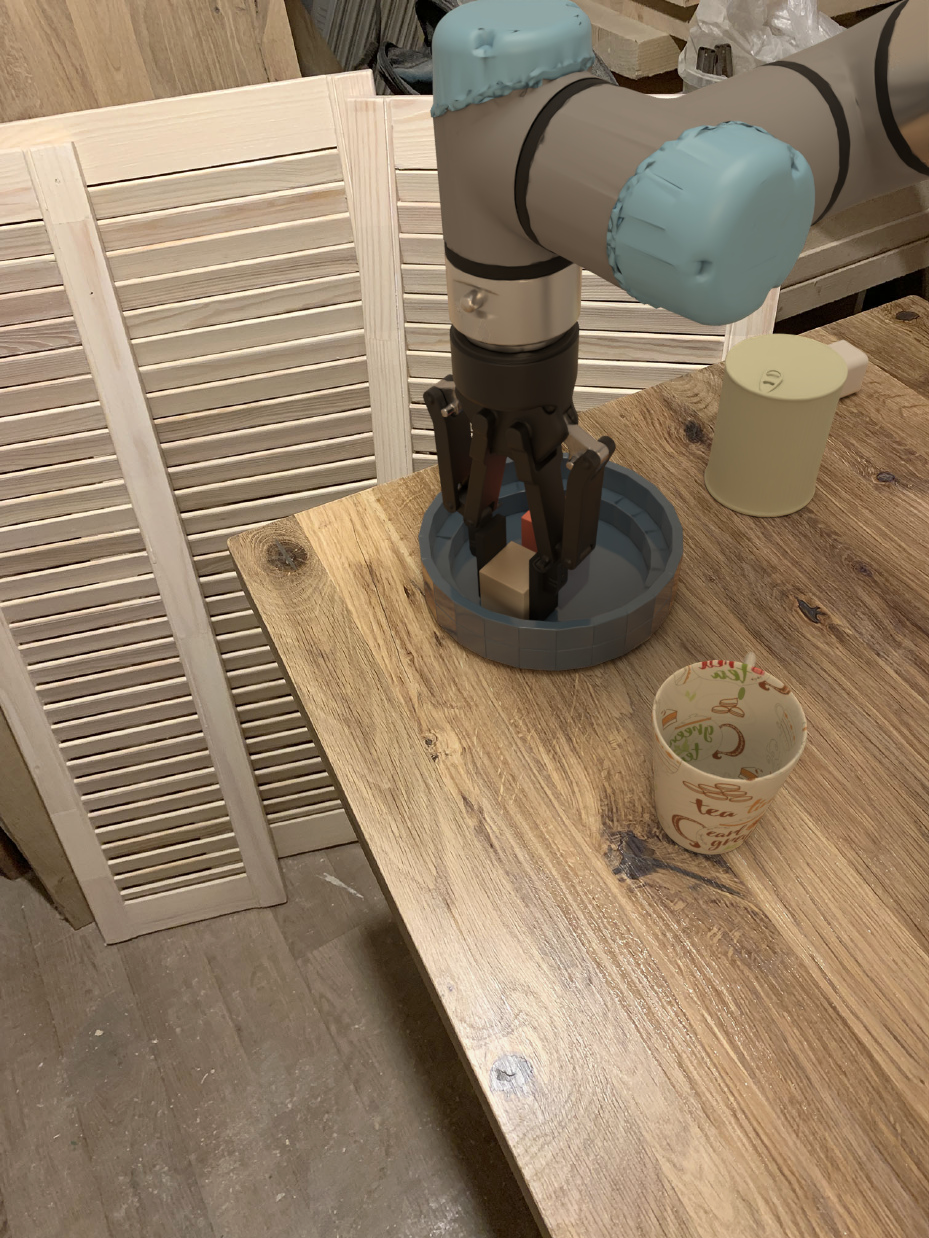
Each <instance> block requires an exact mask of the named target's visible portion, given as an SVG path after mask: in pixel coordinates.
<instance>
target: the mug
mask: <svg viewBox="0 0 929 1238" xmlns="http://www.w3.org/2000/svg"><path fill="white" fill-rule="evenodd" d="M756 662H757V655H756V654H755V652H753V651H749V652H747V653H746V655H745V656H744V658H743V662H740V661H735V660H734V661H733V660H727V659H726V660H724V659H714V660H713V659H712V660H704V661H699V662H694V663H691V664H689V665H686V666H683V667H682V668H680V669H678V670H676V671H675V672H672V674H670V675H669V676H668V677H667V678H666V679H665V680H664V682H663V683H662V684H661V685H660V687H659V688H658V689H657V691H656V694H655V696H654V698H653V702H652V707H651V716H650V724H651V742H652V743H651V744H652V745H651V746H652V762H653V763H652V764H653V778H654V800H655V801H654V802H655V811H656V816H657V819H658V822H659V824H660V826H661V828H662V829H663V831H664V832H665V833H666V835H667V836H668V837H669V838H670V839H671V840H672V841H673V842H675V843H676V844H677V845H679V846H680V847H682V848H684V849H686V850H687V851H691V852H694V853H697V854H702V855H721V854H726V853H729V852H732V851H733V850H736V849H737V848H739V847H740V846H742V845H743V844H744V843H745V842H746V841H747V840H748V838H749V837H750V836H751V835H752V833H753V831H754V830H755V829H756V827H757V825H758V824H759V822H761V820H762V818H763V816H764V815H765V813H766V811H767V810H768V809H769V807H770V806H771V804H772V802H773V801H774V799H775V798H776V796H777V795H778V793H779V792H780V790H781V789H782V787H783V786H784V784H785V783H786V781H787V779H788V778H789V777H790V775H791V774H792V772H793V770H794V769H795V768H796V765H797V764H798V763H799V761H800V759H801V757H802V755H803V752H804V750H805V747H806V744H807V741H808V722H807V717H806V714H805V711H804V708H803V707H802V704H801V703H800V701H799V700H798V698H797V697H796V695H795V694H794V693H793V692H792V691H791V689H790V688H789V687H788V686H787V685H785V684H784V683H783V682H782V681H781V680H780V679H778V678H777V677H775V676H774V675H772V674H771V673H769V672H767V671H765V670H763V669H761V668H759V667H757V666H756Z"/></svg>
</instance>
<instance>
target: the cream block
mask: <svg viewBox="0 0 929 1238" xmlns="http://www.w3.org/2000/svg"><path fill="white" fill-rule="evenodd" d="M535 554H536V553H535V552H533V551H531V550H529V549H527V548H525V547H523V546H521V545H519V544H517V543H515V542H513V541H511V542H510V543H509V544H508V545H506V546H505V547H504V548H503V549H502V550H501V551H500V552H499V553H498V554H497V555H496V556H495V557H494V558H493V559H492V560H490V561H489V562H488V563H487V564H486V565H485V566H484V567H483V568H482V569H481V570H480V571H479V576H480V593H481V606H482V607H484V608H485V609H487V610H489V611H492V612H496V613H500V614H503V615H507V616H511V617H514V618H518V619H522V620H529V559H530V558H532V557H533V556H534V555H535Z"/></svg>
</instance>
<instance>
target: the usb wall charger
mask: <svg viewBox="0 0 929 1238" xmlns="http://www.w3.org/2000/svg"><path fill="white" fill-rule="evenodd" d="M826 345H827V346H829V347H831V348H832V349H834V350H835V351H836V352H837V353H839V354H840V355H841V357H842V358H843V359H844V361H845V362H846V365H847V368H848V376H847V379H846V381H845V383H844V386H843V389H842V392H841V395H840V398H839V399H841V398H844V397H847V396H850V395H852V394H855V393H857V392H859V391H861V389H862V386H863V383H864V379H865V376H866V372H867V369H868V366H869V357H868V355H867V353H865V352H864V351H862V350H860V349H859V348H858V347H856V346H854V345H853V344H851V343H850V342H849V341H847V340H845V339H840V340H837V341H835V342H832V343H828V344H826Z"/></svg>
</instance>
